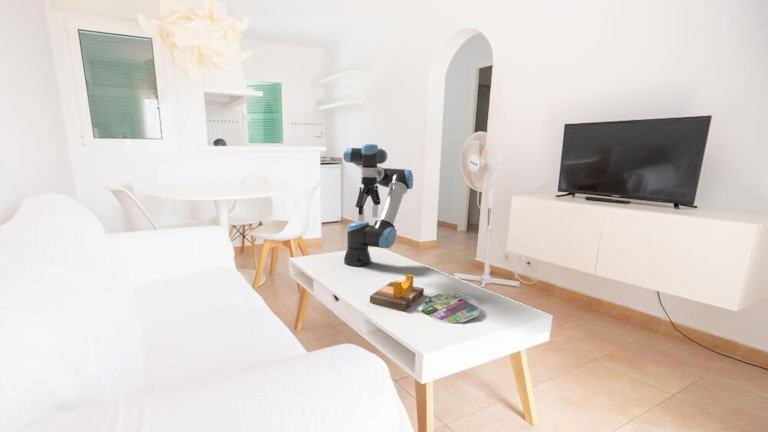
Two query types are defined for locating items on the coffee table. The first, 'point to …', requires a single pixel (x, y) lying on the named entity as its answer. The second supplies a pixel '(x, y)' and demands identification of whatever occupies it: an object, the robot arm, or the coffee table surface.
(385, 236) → the robot arm
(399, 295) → the pipe clamp
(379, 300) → the board
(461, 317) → the city model
